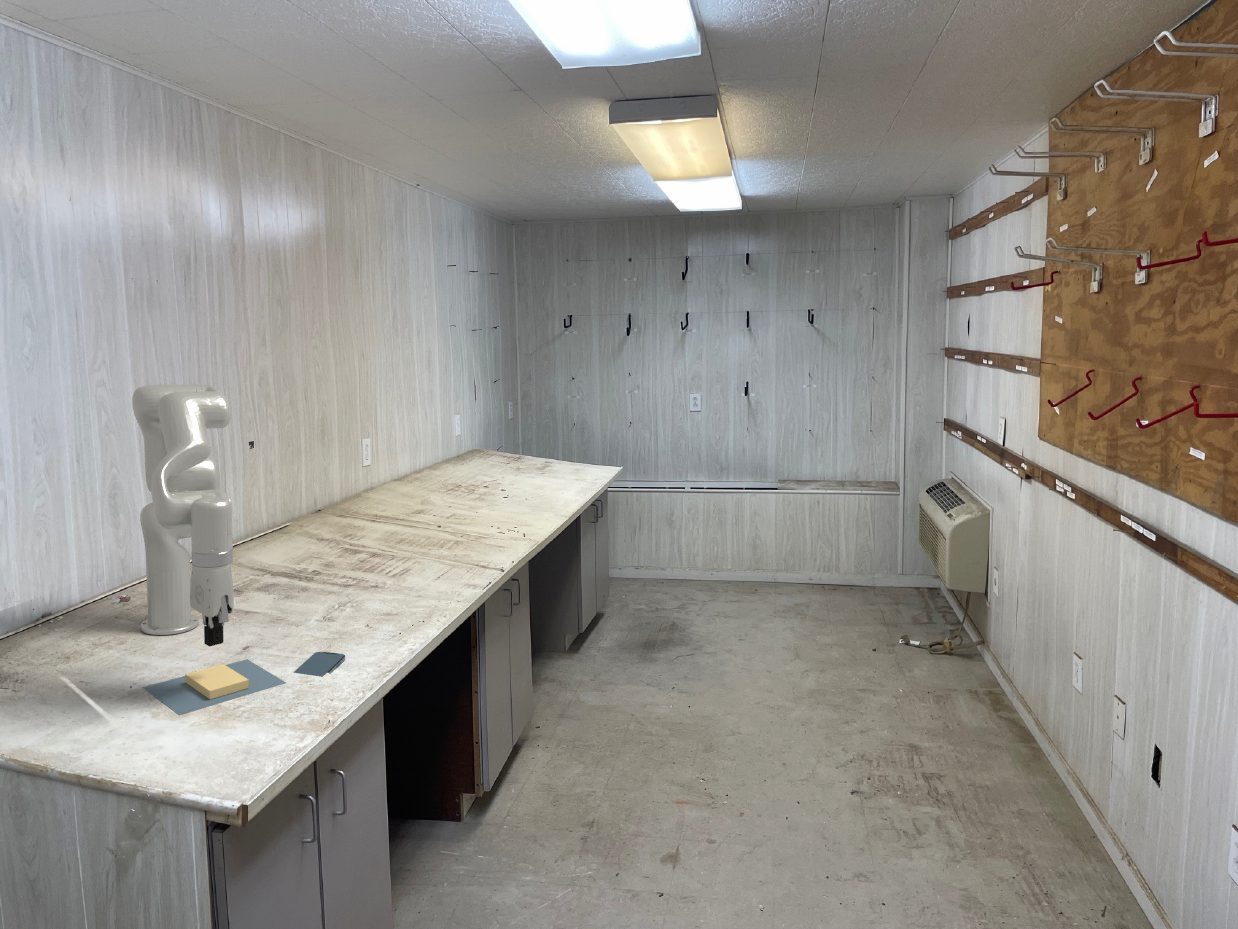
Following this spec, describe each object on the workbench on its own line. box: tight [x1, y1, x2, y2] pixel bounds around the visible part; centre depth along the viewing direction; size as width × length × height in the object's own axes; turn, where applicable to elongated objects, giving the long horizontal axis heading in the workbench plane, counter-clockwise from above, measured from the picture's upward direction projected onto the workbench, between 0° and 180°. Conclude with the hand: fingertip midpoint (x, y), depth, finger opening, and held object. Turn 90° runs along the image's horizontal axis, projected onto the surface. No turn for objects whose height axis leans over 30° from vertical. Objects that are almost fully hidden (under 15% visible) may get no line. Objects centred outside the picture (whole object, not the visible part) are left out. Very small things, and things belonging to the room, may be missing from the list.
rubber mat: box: [142, 658, 287, 716], centre depth 177 cm, size 17×22×1 cm
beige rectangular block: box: [184, 663, 249, 699], centre depth 176 cm, size 2×8×11 cm
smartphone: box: [293, 651, 346, 678], centre depth 189 cm, size 8×2×15 cm
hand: (214, 643), depth 176 cm, fingers closed
